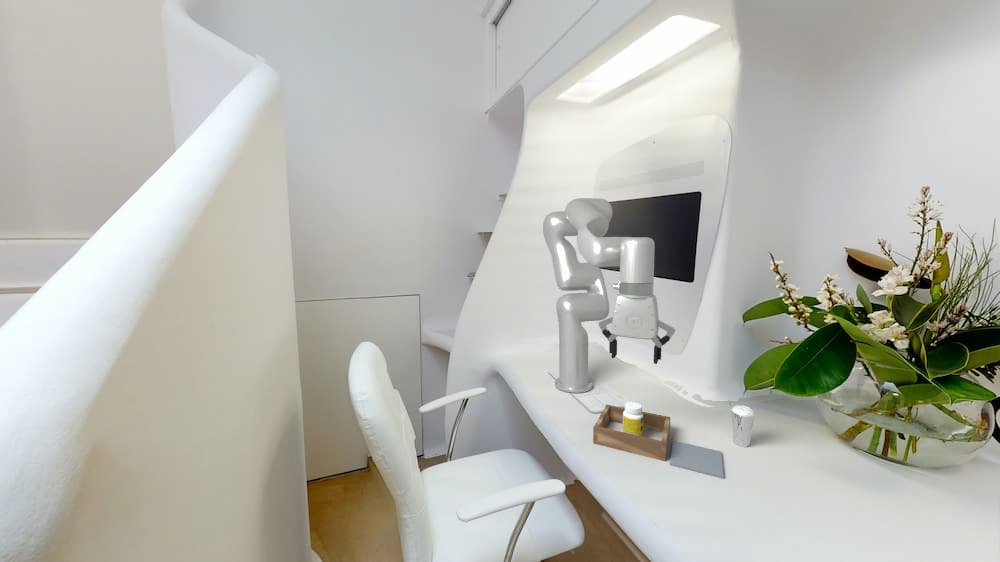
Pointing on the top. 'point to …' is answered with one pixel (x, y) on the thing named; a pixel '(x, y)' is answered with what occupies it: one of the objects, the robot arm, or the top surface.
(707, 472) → the slate mat
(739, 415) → the milkshake
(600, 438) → the walnut box
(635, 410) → the supplement bottle
